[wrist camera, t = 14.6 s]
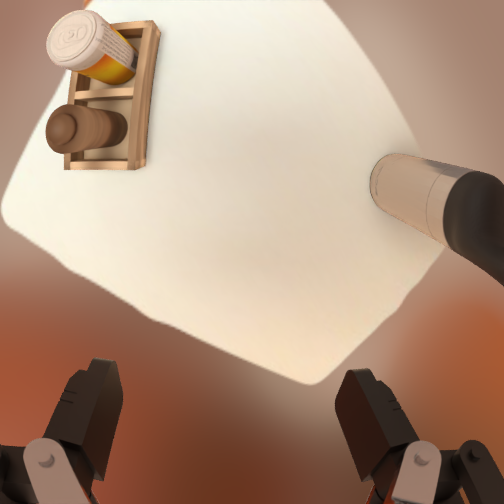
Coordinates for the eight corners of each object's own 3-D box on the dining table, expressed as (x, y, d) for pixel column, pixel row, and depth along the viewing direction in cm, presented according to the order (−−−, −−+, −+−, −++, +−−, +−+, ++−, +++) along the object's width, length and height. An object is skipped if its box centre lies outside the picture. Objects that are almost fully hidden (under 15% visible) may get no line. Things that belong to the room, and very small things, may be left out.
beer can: (101, 48, 30) (48, 16, 16) (143, 42, 31) (104, 0, 17) (98, 88, 32) (39, 71, 18) (139, 83, 33) (95, 58, 19)
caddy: (160, 32, 31) (128, -19, 16) (145, 165, 38) (99, 185, 23) (94, 38, 30) (37, 1, 15) (80, 165, 36) (13, 185, 21)
